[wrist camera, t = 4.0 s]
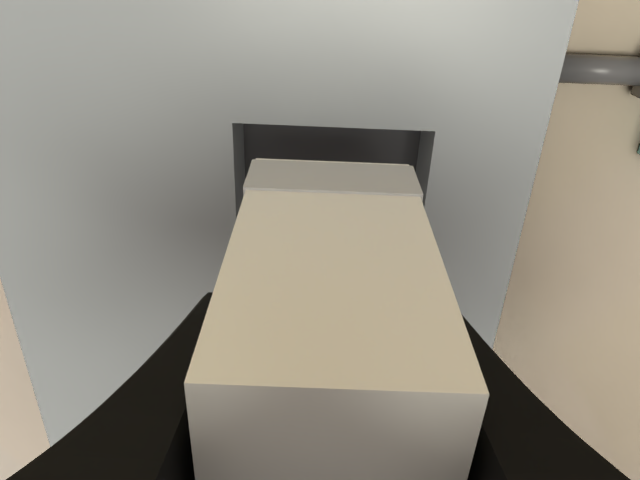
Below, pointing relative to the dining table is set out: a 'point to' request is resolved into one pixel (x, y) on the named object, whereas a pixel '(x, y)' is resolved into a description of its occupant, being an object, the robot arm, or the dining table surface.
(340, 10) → the outlet plate
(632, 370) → the dining table surface
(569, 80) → the phone with cable
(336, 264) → the charger plug
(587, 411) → the dining table surface
